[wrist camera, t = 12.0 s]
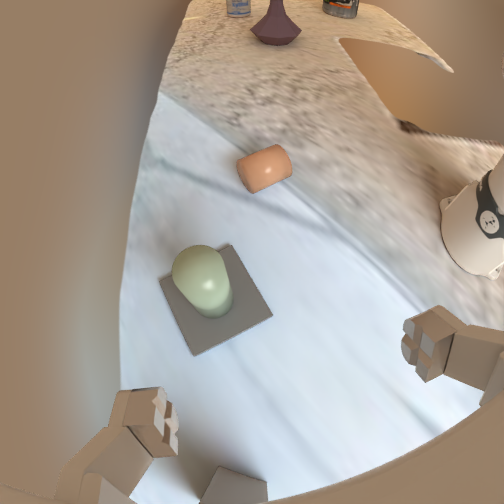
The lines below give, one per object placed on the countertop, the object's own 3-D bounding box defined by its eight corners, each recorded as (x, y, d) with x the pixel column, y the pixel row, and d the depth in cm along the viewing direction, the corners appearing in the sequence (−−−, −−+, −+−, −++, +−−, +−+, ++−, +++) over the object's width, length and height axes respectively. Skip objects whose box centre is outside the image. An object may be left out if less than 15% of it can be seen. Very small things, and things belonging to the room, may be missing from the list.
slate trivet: (232, 247, 44) (231, 244, 44) (272, 316, 40) (272, 314, 39) (160, 283, 42) (159, 281, 41) (194, 356, 37) (193, 356, 37)
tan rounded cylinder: (286, 146, 44) (295, 180, 47) (268, 142, 48) (277, 172, 52) (247, 163, 42) (258, 197, 46) (233, 157, 47) (243, 188, 50)
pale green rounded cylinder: (222, 273, 42) (210, 236, 32) (241, 306, 40) (234, 279, 30) (187, 290, 41) (164, 259, 31) (204, 325, 39) (184, 304, 29)
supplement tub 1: (233, 19, 87) (231, -12, 74) (223, 14, 91) (221, -15, 77) (255, 15, 89) (254, -15, 75) (244, 10, 92) (242, -18, 79)
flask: (297, 33, 79) (300, -16, 61) (305, 50, 72) (309, -5, 54) (249, 32, 79) (247, -17, 61) (250, 50, 72) (248, -7, 54)
